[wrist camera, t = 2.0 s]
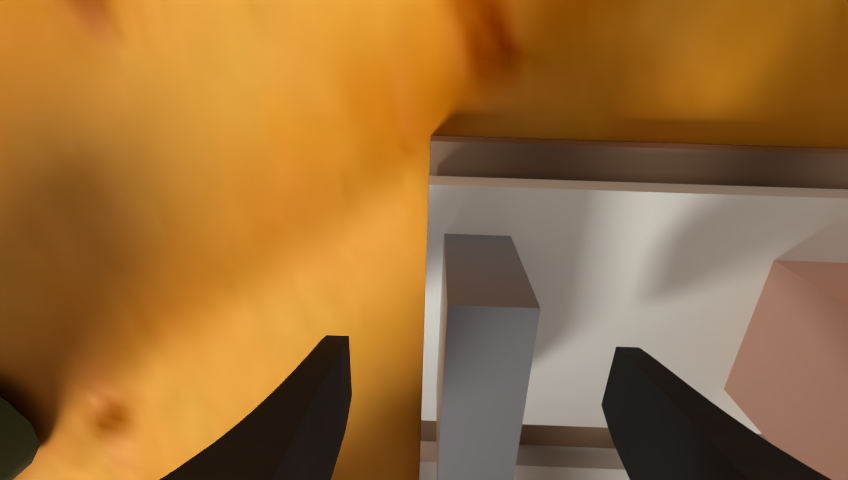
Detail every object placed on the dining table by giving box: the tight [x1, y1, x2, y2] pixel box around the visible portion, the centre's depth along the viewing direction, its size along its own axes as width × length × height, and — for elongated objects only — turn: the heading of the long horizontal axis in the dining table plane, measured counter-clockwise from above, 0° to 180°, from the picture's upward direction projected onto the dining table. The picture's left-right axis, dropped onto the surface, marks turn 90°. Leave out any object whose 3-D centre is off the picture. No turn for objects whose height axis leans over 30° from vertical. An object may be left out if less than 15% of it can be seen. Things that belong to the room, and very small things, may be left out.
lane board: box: [419, 135, 848, 480], centre depth 17 cm, size 20×21×2 cm
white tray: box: [421, 176, 848, 480], centre depth 13 cm, size 20×9×5 cm, turn 88°
